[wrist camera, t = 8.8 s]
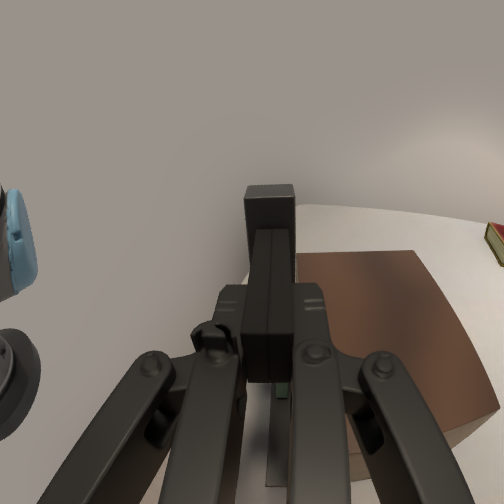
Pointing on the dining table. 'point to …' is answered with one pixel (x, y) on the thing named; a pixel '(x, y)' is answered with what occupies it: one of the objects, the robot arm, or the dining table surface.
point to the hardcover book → (496, 240)
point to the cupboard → (391, 344)
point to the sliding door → (271, 225)
